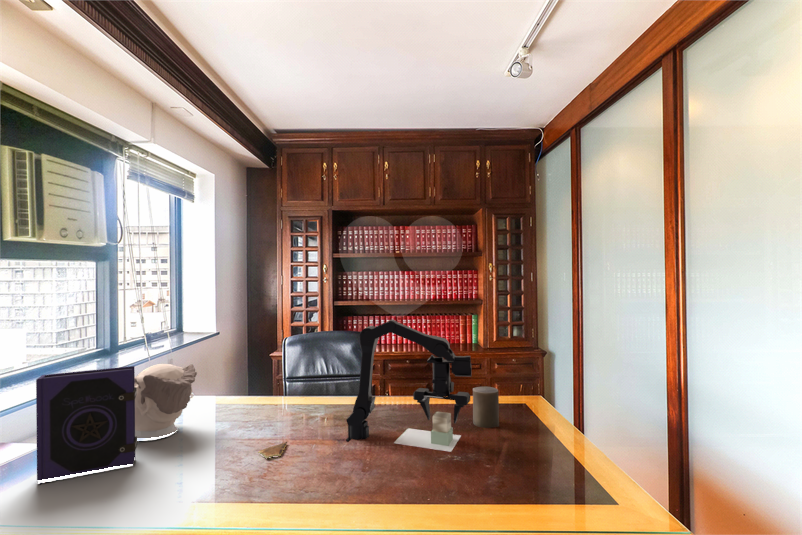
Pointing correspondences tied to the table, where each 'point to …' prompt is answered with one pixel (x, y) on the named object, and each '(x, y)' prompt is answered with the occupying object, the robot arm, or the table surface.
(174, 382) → the bust
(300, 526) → the table surface
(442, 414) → the cream block
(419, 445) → the pale grey board
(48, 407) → the book
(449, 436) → the green block
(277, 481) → the table surface
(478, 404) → the pillar candle
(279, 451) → the shard
